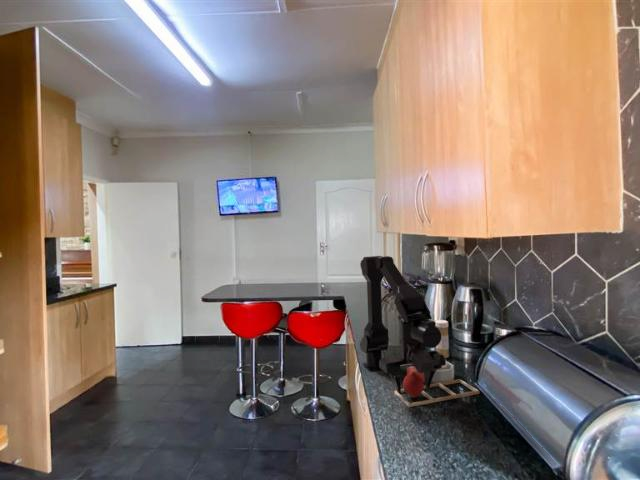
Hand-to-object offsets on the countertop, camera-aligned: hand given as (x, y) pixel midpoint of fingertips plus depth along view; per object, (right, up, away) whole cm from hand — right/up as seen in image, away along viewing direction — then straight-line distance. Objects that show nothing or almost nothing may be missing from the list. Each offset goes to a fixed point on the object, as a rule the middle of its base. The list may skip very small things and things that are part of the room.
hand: (413, 390), depth 106 cm
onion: (0, -2, 0) cm, 2 cm away
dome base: (+9, -1, +13) cm, 16 cm away
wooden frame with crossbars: (+7, -2, +2) cm, 8 cm away
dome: (+11, 0, +13) cm, 18 cm away
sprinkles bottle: (+19, 0, +32) cm, 37 cm away
